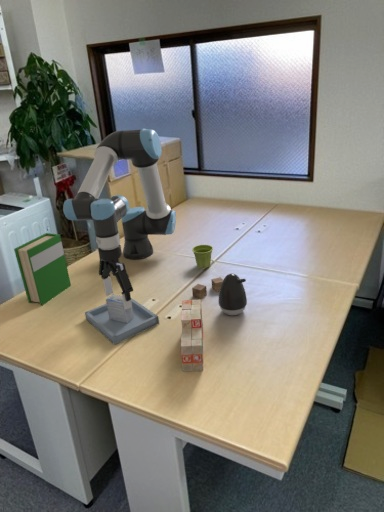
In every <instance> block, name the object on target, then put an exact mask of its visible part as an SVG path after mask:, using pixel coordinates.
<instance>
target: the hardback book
mask: <svg viewBox="0 0 384 512" xmlns="http://www.w3.org/2000/svg"><path fill="white" fill-rule="evenodd" d="M13 250H14V254H15V257H16V262H17V265H18V268H19V272H20V276H21V280H22V283H23V284H22V285H23V287H24V291H25V294H26V298H27V302H28V304H31V303H34V302H35V303H39V304H40V306H42V307H43V306H44V305H45V304H47V303H48V302H50V301H51V300H53V299H54V298H56V297H57V296H59V295H60V294H61V293H62V292H63V293H64V291H66V290H67V289H69V288H70V287H72V284H71V279H70V278H71V277H70V275H69V270H68V269H69V268H68V266H67V265H68V264H67V260H66V256H65V252H64V247H63V242H62V238H61V234H57V233H49V232H45V233H44V234H42V235H39V236H38V237H35V238H33V239H31V240H29V241H28V242H25V243H23V244H21V245H19V246H17V247H15V248H13ZM65 289H66V290H65ZM52 298H53V299H52Z"/></svg>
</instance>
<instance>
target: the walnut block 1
mask: <svg viewBox="0 0 384 512" xmlns="http://www.w3.org/2000/svg"><path fill="white" fill-rule="evenodd" d="M191 290H192V298H196V299H198V300H202V299H203V298H204V297H206V296H207V294H208V292H207V286H206V285H204V284H199V283H197V284H195V285H194V286H192V288H191Z"/></svg>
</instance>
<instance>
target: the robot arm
mask: <svg viewBox="0 0 384 512" xmlns="http://www.w3.org/2000/svg"><path fill="white" fill-rule="evenodd" d="M162 152H163V151H162V144H161V139H160V137H159V135H158V133H157V131H155V130H154V129H151V128H150V129H146V128H142V129H130V130H125V129H124V130H116V131H114V132H112V133H110V134H108V135H107V136H105V138H104V139H102V140H101V142H100V143H99V144H98V145H97V147H96V148H95V150H94V159H93V160H92V162H91V165H90V167H89V169H88V171H87V173H86V175H85V177H84V178H83V180H82V182H81V185H80V187H79V189H78V191H77V194H76V195H75V196H74V198H68V199H66V200H64V202H63V206H62V208H63V209H62V211H63V215H64V216H65V218H66V219H67V220H69V221H92V224H93V228H94V233H95V239H96V240H95V243H96V244H97V247H98V249H97V250H98V251H97V252H98V257H99V267H98V274H99V276H101V279H102V282H103V287H104V292H105V296H106V297H107V296H108V297H109V296H111V295H113V294H114V289H113V285H112V278H111V277H110V276H114V277H115V279H116V280H117V283H118V284H119V287H120V289H121V292H120V293H121V294H120V295H121V296H122V298H123V304H124V309H125V310H126V309H128V308H131V307H132V302H131V298H132V297H131V293H132V292H134V288H133V284H132V283H131V279H130V278H129V274H128V272H127V269H126V264H125V263H124V262H122V263H121V262H120V258H121V256H123V257H124V258H126V259H129V260H139V259H140V260H141V259H145V258H147V257H151V255H153V253H154V247H153V245H152V243H151V241H150V238H149V235H151V236H155V235H156V236H166V235H172V234H174V232H175V230H176V223H177V213H176V210H173V209H172V210H171V206H170V205H169V204H168V203H166V198H165V193H164V189H163V185H162V181H161V177H160V173H159V167H158V163H159V160H160V158H161V157H162ZM121 160H122V161H123V160H129V161H131V164H132V166H133V167H134V168H136V169H137V172H138V176H139V179H140V182H141V186H142V191H143V194H144V198H145V201H146V205H147V209H145V207H144V206H136V207H131V208H130V203H129V200H128V199H127V198H126V197H125V196H123V195H121V194H116V195H112V196H111V197H108V198H107V197H103V198H102V197H101V198H100V195H101V194H102V191H103V189H104V186H105V185H106V182H107V181H108V180H107V179H108V178H109V175H110V173H111V171H112V169H113V167H114V166H116V165H117V163H118V162H119V161H121ZM120 220H121V225H122V231H123V237H124V238H123V239H124V244H123V250H122V245H121V240H120V233H119V228H118V226H119V225H118V222H119V221H120ZM122 253H123V254H122ZM111 273H112V274H111Z"/></svg>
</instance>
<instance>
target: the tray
mask: <svg viewBox="0 0 384 512" xmlns="http://www.w3.org/2000/svg"><path fill="white" fill-rule="evenodd" d="M131 302H132V311H133V316H134V317H133V318H132V319H131V320H130V321H129V322H128V323H123V322H118V321H113V320H110V319H109V314H108V309H107V304H106V303H104V304H101V305H99V306H97V307H94V308H92V309H89V310H87V311H85V312H84V316H85V320H86V321H87V322H88V323H89V324H91V325H92V327H94V328H95V329H96V330H97V331H98V332H100V333H101V334H102V335H103V336H104V337H105V338H106V339H107V340H109V341H110V342H111V343H112V344H113V345H118V344H120V343H122V342H124V341H125V340H129V338H131V337H134V336H136V335H139V334H140V333H142V332H145V331H146V330H149V329H150V328H153V327H155V326H157V325H159V324H160V317H159V316H158V315H157V314H155V313H154V312H152V311H151V310H150V309H148V308H147V307H146V306H144V305H142V304H141V303H140V302H138V301H137V300H135V299H133V298H132V297H131Z"/></svg>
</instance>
